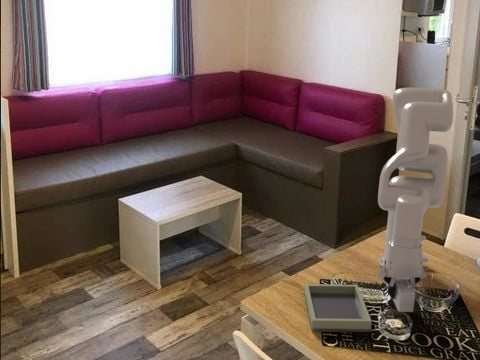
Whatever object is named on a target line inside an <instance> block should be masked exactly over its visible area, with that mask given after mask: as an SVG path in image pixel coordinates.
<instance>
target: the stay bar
mask: <svg viewBox="0 0 480 360" xmlns="http://www.w3.org/2000/svg"><path fill="white" fill-rule="evenodd" d="M394 286H395V293H394V299H392V300H393V303H394V305H395V306H396V310H397V312H399V313H403V312H404V313H413V312H414V307H415V299H416V292H415V290H414V287H413V288H412V286H411V284H410V282H409V280H408V278H396V280H395V283H394ZM386 288H388V284H387V283H386Z"/></svg>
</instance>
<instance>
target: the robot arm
mask: <svg viewBox="0 0 480 360" xmlns="http://www.w3.org/2000/svg"><path fill="white" fill-rule="evenodd" d="M453 105H454V104H453V95H452V94H451V92H450V91H449V90H447V89H444V88H443V89H442V88H428V87H427V88H425V87H400V88H398V89H396V90H395V91H394V93H393V96H392V106H393V107H392V108H393V112H394V116H395V119H396V122H397V129H398V130H397V138H396V139H397V141H396V150H395V154H394V155H392V156H391V157H390V158H389V159H388V160H387V161H386V163H385V164H384V165H383V167H382V170H381V173H380V176H379V182H378V183H379V184H378V191H377V192H378V193H377V203H378V206H379V208H380V209H382V210H384V211H388V212H387V213H388V214H387V222H386V223H387V225H386V231H385V232H386V233H385V243H384V252H383V255H381V256H380V257H379V259H378V265H380V267H381V268H380V269H379V270H378V272H377V273H376V274H377V276H378V278H380V279H381V280H383V281H384V282H385V283H386V285H387V284H388V287H387V295H389V297H390V299H391V300H393V299H394V293H395V286H394V283H395V280H396V278H408V280H409V282H410V284H411V286H412V288H413V289H414V287H415V286H416V284H418V283H419V282H420V281H422V280H423V279H425V278H427V277H428V274H427V273H426V270H425V269H424V267H423V263H428V261H429V260H428V259H429V257H428V256H426V255H425V256H424V252H423V244H422V241H426V239H427V237H426V235H424V234H422V230H423V222H424V215H425V213H426V212H427V210H428V209H430V208H432V209H433V208H435V209H436V208H440V207H441V206H442V205H443V203H444V199H445V191H446V182H447V172H448V171H447V170H448V160H449V159H448V158H449V157H448V151H447V148H445V146H443V145H440V144H433V143H430V132H438V133H440V132H442V133H447V132H448V131H450V129H451V128H452V127H453V126H452V125H453V122H454V106H453ZM396 169H397V170H400V171H402V172H409V173H418V174H428V175H430V177H424V176H423V177H422V176H414V175H397V176H394V177H391V176H392V173H393V172H394V171H395V170H396ZM390 178H391V179H390Z"/></svg>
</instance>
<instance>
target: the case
mask: <svg viewBox="0 0 480 360" xmlns="http://www.w3.org/2000/svg"><path fill="white" fill-rule="evenodd" d="M303 292H304V293H303V295H304V300H305V305H306V311H307V316H308V319H309V325H310V329H311V332H312V333H314V332H319V333H321V332H322V333H324V332H325V333H327V332H328V333H329V332H330V333H331V332H332V333H371V330H372V319H371V316H370V314H369V311H368V309H367V305H366V303H365V301H364V298H363V295H362V294H361V293H362V292H361V290H360V288H359V285H358V284H331V283H330V284H321V283H318V284H317V283H316V284H315V283H313V284H312V283H311V284H310V283H304V290H303Z"/></svg>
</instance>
